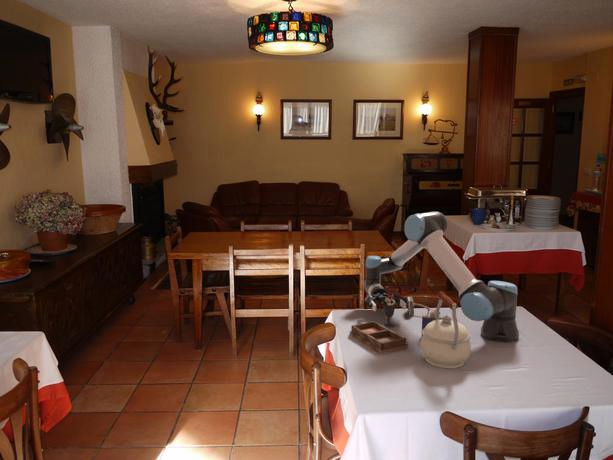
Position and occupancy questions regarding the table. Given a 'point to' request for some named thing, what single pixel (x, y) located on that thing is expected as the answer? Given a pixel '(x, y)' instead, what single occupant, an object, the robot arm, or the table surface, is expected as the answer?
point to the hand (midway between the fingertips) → (390, 307)
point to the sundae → (389, 309)
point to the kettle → (445, 339)
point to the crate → (378, 337)
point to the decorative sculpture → (411, 305)
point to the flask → (428, 320)
